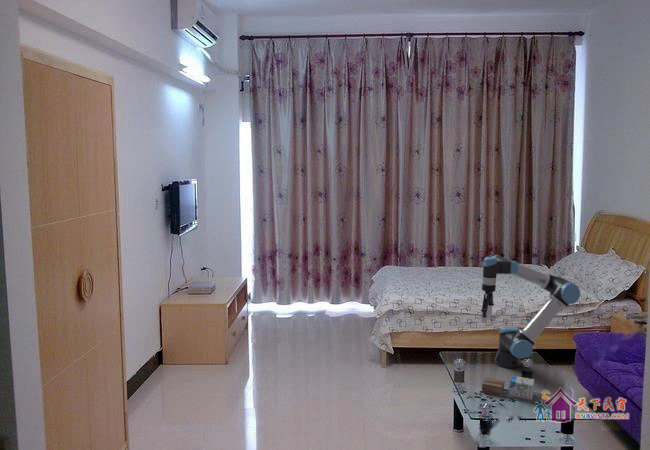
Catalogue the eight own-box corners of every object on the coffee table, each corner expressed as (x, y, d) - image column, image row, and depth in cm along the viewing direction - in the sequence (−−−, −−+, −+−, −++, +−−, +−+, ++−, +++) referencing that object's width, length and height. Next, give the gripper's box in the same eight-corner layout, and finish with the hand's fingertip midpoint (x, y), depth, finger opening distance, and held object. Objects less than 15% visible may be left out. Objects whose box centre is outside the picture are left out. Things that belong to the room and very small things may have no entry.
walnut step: (485, 385, 324) (486, 377, 323) (504, 389, 319) (504, 380, 319) (481, 392, 315) (482, 383, 314) (500, 396, 311) (501, 387, 310)
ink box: (510, 380, 309) (533, 385, 304) (512, 375, 317) (534, 379, 312) (509, 395, 310) (532, 400, 305) (511, 389, 318) (533, 394, 313)
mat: (509, 387, 322) (509, 386, 322) (541, 394, 314) (541, 393, 314) (504, 397, 310) (504, 396, 310) (537, 404, 302) (537, 403, 302)
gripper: (486, 278, 345) (484, 312, 349) (477, 287, 324) (475, 324, 327) (499, 280, 342) (497, 314, 345) (491, 289, 320) (488, 326, 323)
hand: (486, 319), depth 336 cm, fingers open, 13 cm apart
